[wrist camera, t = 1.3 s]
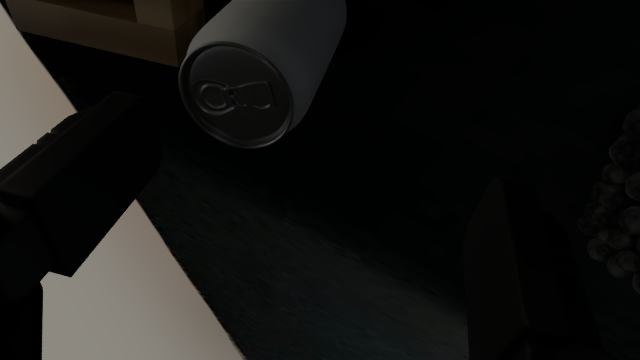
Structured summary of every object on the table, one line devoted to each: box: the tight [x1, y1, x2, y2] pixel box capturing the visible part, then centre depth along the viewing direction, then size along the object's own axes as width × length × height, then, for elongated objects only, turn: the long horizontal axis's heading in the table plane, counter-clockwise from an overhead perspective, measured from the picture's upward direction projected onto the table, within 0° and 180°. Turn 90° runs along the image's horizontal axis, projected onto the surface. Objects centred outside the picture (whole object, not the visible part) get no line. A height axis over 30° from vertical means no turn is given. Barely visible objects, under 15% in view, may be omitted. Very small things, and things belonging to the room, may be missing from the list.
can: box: [179, 0, 347, 149], centre depth 23 cm, size 6×6×12 cm
